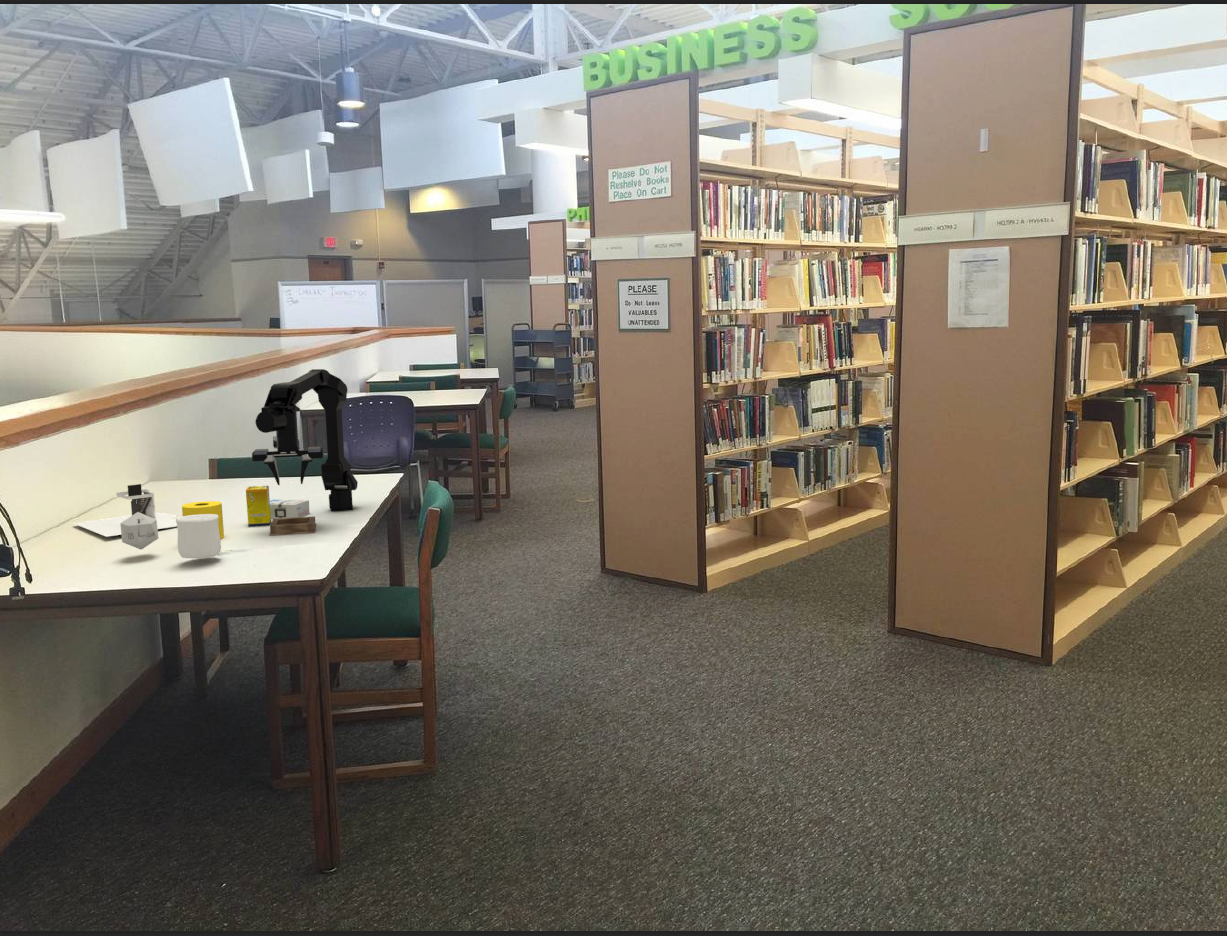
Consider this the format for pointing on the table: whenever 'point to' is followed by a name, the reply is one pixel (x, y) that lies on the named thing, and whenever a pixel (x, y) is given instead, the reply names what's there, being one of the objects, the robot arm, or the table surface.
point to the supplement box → (258, 506)
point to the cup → (198, 536)
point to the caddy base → (293, 525)
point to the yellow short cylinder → (205, 511)
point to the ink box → (289, 508)
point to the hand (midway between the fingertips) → (290, 484)
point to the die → (139, 530)
